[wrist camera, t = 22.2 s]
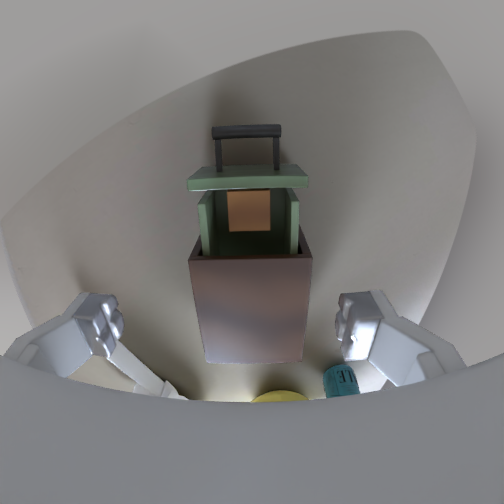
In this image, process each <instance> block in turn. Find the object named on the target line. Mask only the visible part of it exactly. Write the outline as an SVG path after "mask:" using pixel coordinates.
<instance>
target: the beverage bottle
mask: <svg viewBox="0 0 504 504" xmlns="http://www.w3.org/2000/svg"><path fill="white" fill-rule="evenodd" d="M323 383H324V385H323V386H324V387H325V388H324V389H325V390H324V391H325V392H326V397H327V398H333V397H341V396H348V395H355V394H360V391H359V386H358V382H357V380H356V377H355V375H354V372H353V370H352V368H351V367H350V366H348V365H336V366H333V367H331V368H330V369H328V370H327V371H326V372H325V373H324V375H323Z"/></svg>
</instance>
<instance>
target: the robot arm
mask: <svg viewBox="0 0 504 504" xmlns="http://www.w3.org/2000/svg"><path fill="white" fill-rule="evenodd" d="M338 304H339V306H340V310H339V311H338V313H337V314H336V320H335V329H336V335H337V338H338V339H339V340H340V341H341V342H342V344H341V351H342V354H343V357H344V360H345V361H356V360H366V359H368V361H369V362H370V363H371V364H372V365H373V366H375V367H376V368H377V369H378V370H379V371H380V372H381V373H382V374H383V375H385V376H386V377H387V378H388V379H389V380H390V381H391V382H392V383H393V384H395V385H396V386H397V387H394V388H389V389H384V390H379V391H373V392H368V393H362V394H355V395H348V396H341V397H333V398H324V399H313V400H301V401H284V402H214V401H198V400H185V399H175V398H166V397H158V396H150V395H143V394H137V393H131V392H125V391H120V390H114V389H109V388H105V387H100V386H96V385H91V384H87V383H83V382H79V381H75V380H71V379H68V378H67V377H68V376H69V375H70V374H71V373H72V372H74V371H75V370H76V369H77V368H78V367H80V366H81V365H82V364H83V363H84V362H86V361H87V360H88V359H89V358H90V357H92V355H98V356H105V357H111V355H112V353H113V351H114V349H115V347H116V340H117V339H119V338H120V337H121V336H122V334H123V331H124V319H123V316H122V313H121V312H120V311H119V310H118V309H117V307H118V301H117V299H116V297H115V296H114V295H111V294H98V293H80V294H79V295H78V296H77V297H76V299H75V300H74V301H73V302H72V303H71V305H70V306H69V307H68V308H67V309H66V311H65V312H64V313H63V314H62V316H60V315H59V316H57V317H55V318H53V319H51V320H49V321H47V322H46V323H44V324H42V325H40V326H38V327H36V328H34V329H33V330H31V331H29V332H27V333H26V334H24V335H22V336H20V337H18V338H16V340H15V341H14V342H13V343H12V345H11V346H10V348H9V349H8V350H7V351H6V353H5V354H4V356H1V355H0V504H504V353H503V354H500V355H498V356H495V357H493V358H491V359H488V360H485V361H483V362H480V363H478V364H475V365H472V366H469V367H467V366H466V364H465V363H464V361H463V360H462V358H461V356H460V355H459V353H458V352H457V350H456V349H455V347H454V346H453V345H452V344H451V343H449V342H447V341H445V340H444V339H442V338H440V337H438V336H436V335H435V334H433V333H431V332H429V331H428V330H426V329H424V328H422V327H420V326H419V325H417V324H415V323H413V322H412V321H410V320H408V319H406V318H404V317H403V316H402V317H399V316H398V315H397V313H396V312H395V310H394V308H393V307H392V305H391V304H390V302H389V300H388V299H387V297H386V296H385V294H384V293H383V291H381V290H374V291H367V292H355V293H342V294H341V295H340V297H339V302H338Z"/></svg>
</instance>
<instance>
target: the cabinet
mask: <svg viewBox="0 0 504 504" xmlns="http://www.w3.org/2000/svg"><path fill="white" fill-rule="evenodd" d="M312 259H313V258H312V255H311V252H310V249H309V247H308V244H307V242H306V239H305V237H304V234H303V232H302V229H301V227H300V225H299V230H298V254H284V255H238V256H203V251H202V242H201V234H200V236H199V238H198V240H197V242H196V244H195V246H194V248H193V251H192V253H191V255H190V257H189V259H188V264H189V270H190V276H191V283H192V289H193V294H194V300H195V306H196V311H197V317H198V322H199V327H200V332H201V337H202V342H203V347H204V352H205V357H206V361H207V363H237V364H249V363H287V362H302V355H303V348H304V340H305V331H306V323H307V314H308V304H309V294H310V283H311V271H312Z"/></svg>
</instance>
